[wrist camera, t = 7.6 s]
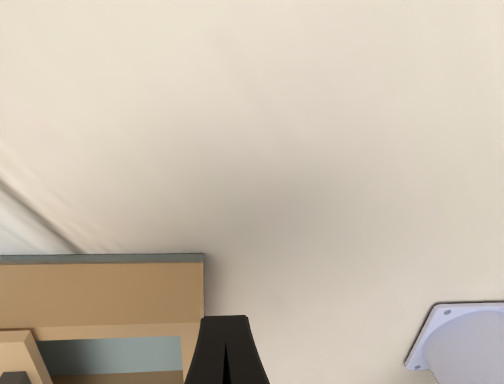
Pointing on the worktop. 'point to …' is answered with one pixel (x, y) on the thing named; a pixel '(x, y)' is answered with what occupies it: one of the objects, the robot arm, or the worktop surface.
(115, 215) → the worktop surface
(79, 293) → the box
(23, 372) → the lid
